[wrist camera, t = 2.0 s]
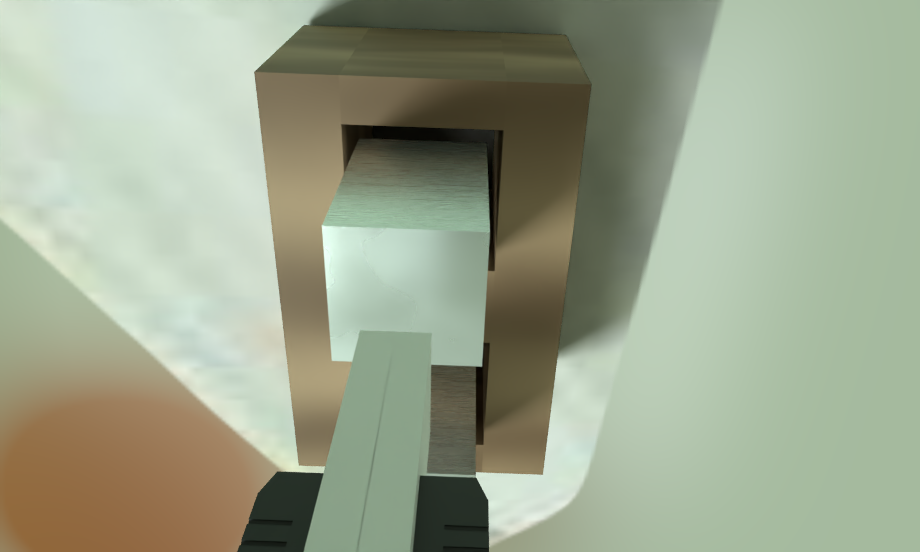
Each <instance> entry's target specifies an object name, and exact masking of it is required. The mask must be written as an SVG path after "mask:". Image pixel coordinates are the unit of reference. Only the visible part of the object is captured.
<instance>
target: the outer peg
mask: <svg viewBox="0 0 920 552" xmlns="http://www.w3.org/2000/svg"><path fill="white" fill-rule="evenodd" d="M426 476H447V477H473V478H475V477H476V366H453V365H431V409H430V440H429V452H428V463H427V475H426Z"/></svg>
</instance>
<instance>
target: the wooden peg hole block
mask: <svg viewBox="0 0 920 552" xmlns="http://www.w3.org/2000/svg"><path fill="white" fill-rule="evenodd" d="M254 73H255V82H256V91H257V100H258V108H259V117H260V126H261V135H262V144H263V152H264V161H265V170H266V179H267V188H268V197H269V205H270V214H271V223H272V232H273V241H274V250H275V258H276V267H277V276H278V285H279V294H280V303H281V311H282V320H283V329H284V338H285V347H286V356H287V364H288V373H289V382H290V391H291V400H292V409H293V417H294V426H295V435H296V444H297V453H298V462H299V465H302V466H326V462H327V458H328V454H329V451H330V447H331V443H332V439H333V435H334V431H335V427H336V423H337V419H338V415H339V411H340V407H341V404H342V400H343V396H344V392H345V388H346V384H347V380H348V376H349V372H350V368H351V364H352V362H347V361H332V356H331V343H330V329H329V316H328V302H327V289H326V275H325V262H324V248H323V234H322V224H323V222H324V220H325V217H326V215H327V213H328V210H329V208H330V206H331V203H332V201H333V198H334V196H335V194H336V191H337V189H338V187H339V184H340V182H341V180H342V177H343V175H344V173H345V170H346V168H347V166H348V163H349V161H350V159H351V156H352V154H353V151H354V149H355V147H356V144H357V142H358V140H359V138H364V139H373V128H372V125H375V126H402V127H429V128H456V129H483V130H495V132H494V149H493V167H492V184H491V190H488V192H489V220H490V239H489V256H488V273H487V290H486V307H485V324H484V341H483V358H482V367H480V366H476V472H487V473H514V474H540V475H543V468H544V460H545V452H546V444H547V436H548V428H549V420H550V412H551V404H552V396H553V388H554V380H555V372H556V364H557V356H558V348H559V340H560V332H561V324H562V316H563V308H564V300H565V292H566V284H567V276H568V268H569V260H570V252H571V244H572V236H573V228H574V220H575V212H576V204H577V196H578V188H579V180H580V172H581V164H582V156H583V147H584V139H585V131H586V123H587V115H588V107H589V99H590V91H591V83H590V81H589V79H588V77H587V75H586V73H585V71H584V69H583V67H582V65H581V63H580V62H579V60H578V58H577V56H576V54H575V52H574V50H573V48H572V46H571V44H570V42H569V40H568V38H567V36H566V35H556V34H529V33H501V32H474V31H447V30H420V29H393V28H366V27H339V26H311V25H304V26H303V27H301V28H300V29H299V30H298V31H297V32H296V33H295V34H294V35H293V36H292V37H291V38H290V39H289V40H288V41H287V42H286V43H285V44H284V45H282V46H281V47H280V48H279V49H278V50H277V51H276V52H275V53H274V54H273V55H272V56H271V57H270V58H269V59H268V60H267V61H266V62H264V63H263V64H262V65H261V66H260V67H259V68H258V69H257V70H256V71H255V72H254Z"/></svg>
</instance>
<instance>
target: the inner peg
mask: <svg viewBox="0 0 920 552" xmlns="http://www.w3.org/2000/svg"><path fill="white" fill-rule="evenodd" d="M322 234H323V248H324V262H325V275H326V289H327V302H328V316H329V329H330V343H331V356H332V361H347V362H352V360H353V357H354V353H355V349H356V345H357V341H358V337H359V333H360V330H365V331H391V332H417V333H432V339H431V365H453V366H480V367H482V358H483V341H484V324H485V307H486V290H487V273H488V256H489V239H490V220H489V192H488V165H487V143H472V142H445V141H418V140H391V139H364V138H359V140H358V142H357V144H356V147H355V149H354V151H353V154H352V156H351V159H350V161H349V163H348V166H347V168H346V170H345V173H344V175H343V177H342V180H341V182H340V184H339V187H338V189H337V191H336V194H335V196H334V198H333V201H332V203H331V206H330V208H329V210H328V213H327V215H326V217H325V220H324V222H323V224H322Z"/></svg>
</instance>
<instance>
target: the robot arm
mask: <svg viewBox="0 0 920 552" xmlns="http://www.w3.org/2000/svg"><path fill="white" fill-rule="evenodd" d="M431 339H432V333H417V332H391V331H365V330H360V333H359V337H358V341H357V345H356V349H355V353H354V357H353V360H352V364H351V368H350V372H349V376H348V380H347V384H346V388H345V392H344V396H343V400H342V404H341V407H340V411H339V415H338V419H337V423H336V427H335V431H334V435H333V439H332V443H331V447H330V451H329V454H328V458H327V462H326V466H325V470H324V473H301V472H277V473H276V474H275V475H274V476H273V477H272V478H271V479H270V480H269V482H268V483H267V484H266V485H265V486H264V487H263V488H262V489H261V491H260V492H259V493H258V495H257V497H256V500H255V503H254V506H253V509H252V512H251V514H250V517H249V523H248V524H247V526H246V529H245V532H244V535H243V537H242V542H241V545H240V546H239V548H238V551H237V552H489V532H488V529H489V521H488V499H487V498H486V496H485V494H484V492H483V490H482V488H481V486H480V484H479V482H478V480H477V478H473V477H447V476H426V475H427V463H428V452H429V440H430V409H431Z"/></svg>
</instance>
